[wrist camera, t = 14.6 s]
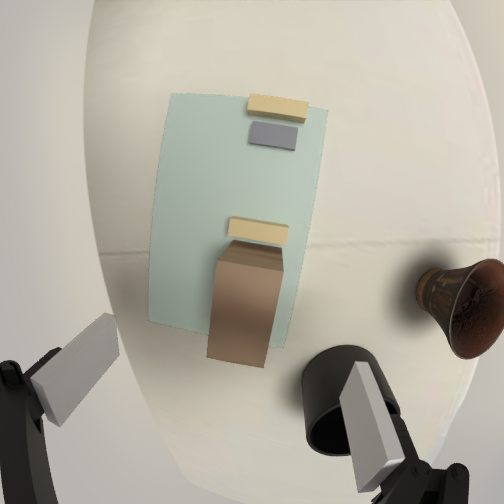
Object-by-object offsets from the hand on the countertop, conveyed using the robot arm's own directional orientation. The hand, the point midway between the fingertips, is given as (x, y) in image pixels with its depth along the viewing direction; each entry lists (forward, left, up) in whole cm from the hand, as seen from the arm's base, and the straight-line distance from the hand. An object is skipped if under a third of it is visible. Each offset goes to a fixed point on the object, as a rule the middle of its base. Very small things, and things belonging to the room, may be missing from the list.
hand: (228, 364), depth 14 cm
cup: (-3, +20, -15) cm, 25 cm away
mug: (+12, +12, -15) cm, 23 cm away
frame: (0, 0, -14) cm, 14 cm away
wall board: (-5, -3, -15) cm, 16 cm away
